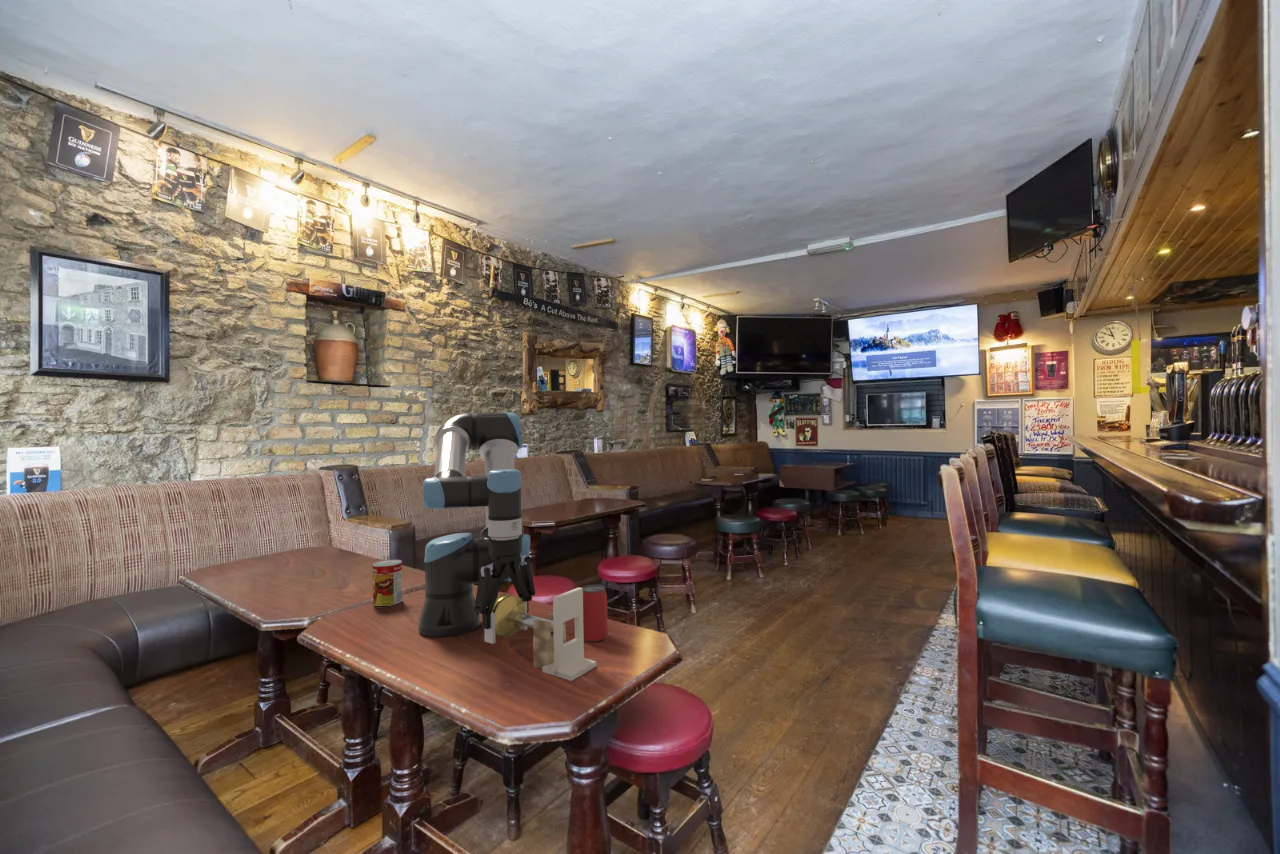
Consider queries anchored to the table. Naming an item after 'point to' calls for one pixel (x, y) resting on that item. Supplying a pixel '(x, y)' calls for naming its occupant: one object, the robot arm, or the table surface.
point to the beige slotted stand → (571, 653)
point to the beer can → (595, 613)
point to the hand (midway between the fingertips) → (506, 635)
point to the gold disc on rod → (512, 615)
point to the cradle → (544, 642)
